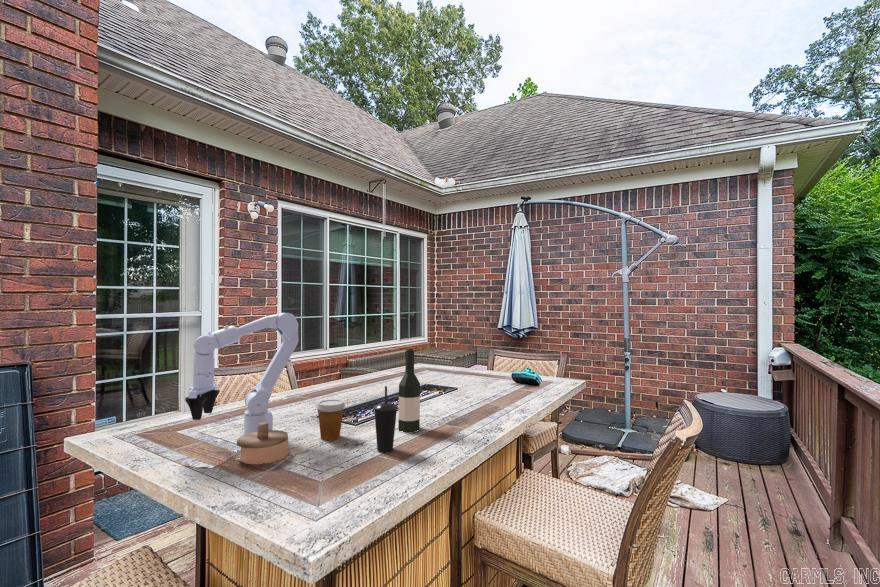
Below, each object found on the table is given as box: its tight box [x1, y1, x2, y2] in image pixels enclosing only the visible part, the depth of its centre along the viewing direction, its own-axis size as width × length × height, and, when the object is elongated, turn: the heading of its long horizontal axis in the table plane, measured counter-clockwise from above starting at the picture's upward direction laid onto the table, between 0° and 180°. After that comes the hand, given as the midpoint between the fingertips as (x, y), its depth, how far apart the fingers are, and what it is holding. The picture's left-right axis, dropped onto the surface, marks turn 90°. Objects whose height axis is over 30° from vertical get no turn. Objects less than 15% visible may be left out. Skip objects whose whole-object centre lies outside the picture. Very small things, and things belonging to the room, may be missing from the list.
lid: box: [236, 422, 289, 448], centre depth 118 cm, size 14×14×5 cm
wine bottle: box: [397, 347, 421, 433], centre depth 147 cm, size 8×8×30 cm
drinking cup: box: [373, 385, 399, 454], centre depth 125 cm, size 8×8×20 cm
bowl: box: [240, 437, 289, 465], centre depth 118 cm, size 13×13×5 cm
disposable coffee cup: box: [316, 399, 346, 441], centre depth 137 cm, size 10×10×12 cm
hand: (202, 416), depth 126 cm, fingers open, 7 cm apart
